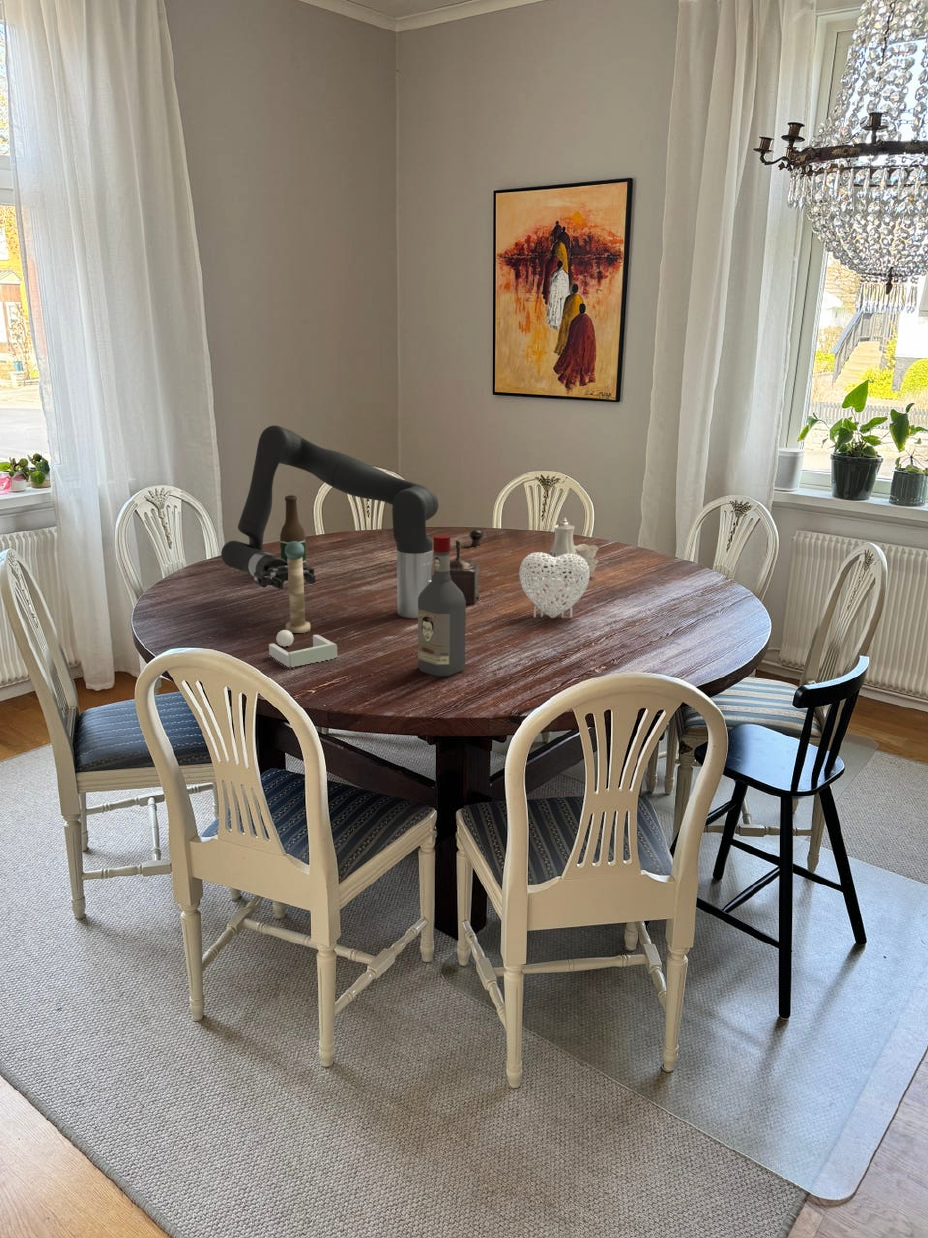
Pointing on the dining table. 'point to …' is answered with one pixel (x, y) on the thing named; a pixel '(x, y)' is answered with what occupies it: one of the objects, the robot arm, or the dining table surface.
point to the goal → (305, 653)
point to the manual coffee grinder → (466, 570)
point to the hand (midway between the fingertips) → (297, 582)
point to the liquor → (441, 618)
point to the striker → (296, 588)
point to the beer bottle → (292, 528)
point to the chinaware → (571, 546)
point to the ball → (284, 638)
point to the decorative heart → (554, 581)
